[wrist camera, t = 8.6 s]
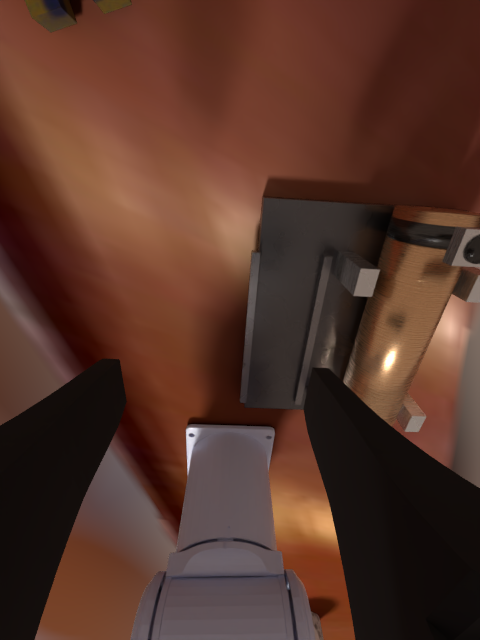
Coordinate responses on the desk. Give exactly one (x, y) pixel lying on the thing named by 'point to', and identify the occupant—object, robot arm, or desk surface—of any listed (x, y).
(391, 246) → the tube
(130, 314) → the desk surface
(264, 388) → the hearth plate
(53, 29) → the pipe connector
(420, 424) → the small blocks
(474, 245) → the aperture bracket
